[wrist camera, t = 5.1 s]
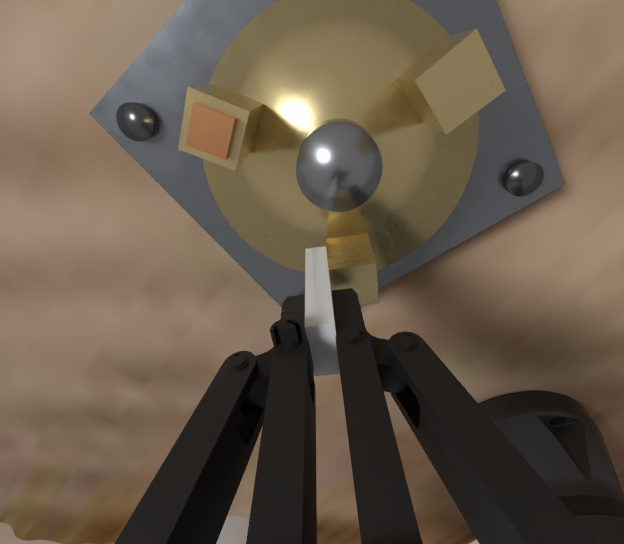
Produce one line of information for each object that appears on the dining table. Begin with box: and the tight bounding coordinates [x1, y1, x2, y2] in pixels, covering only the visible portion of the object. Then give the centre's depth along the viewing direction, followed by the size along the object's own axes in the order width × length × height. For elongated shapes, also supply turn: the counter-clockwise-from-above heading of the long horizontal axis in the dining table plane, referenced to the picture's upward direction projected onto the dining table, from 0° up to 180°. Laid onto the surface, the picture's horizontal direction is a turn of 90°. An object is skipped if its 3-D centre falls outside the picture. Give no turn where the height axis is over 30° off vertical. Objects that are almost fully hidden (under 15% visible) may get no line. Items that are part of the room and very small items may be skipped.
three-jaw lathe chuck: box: [178, 0, 506, 305], centre depth 16 cm, size 14×14×6 cm
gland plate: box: [89, 0, 565, 307], centre depth 20 cm, size 20×20×3 cm
